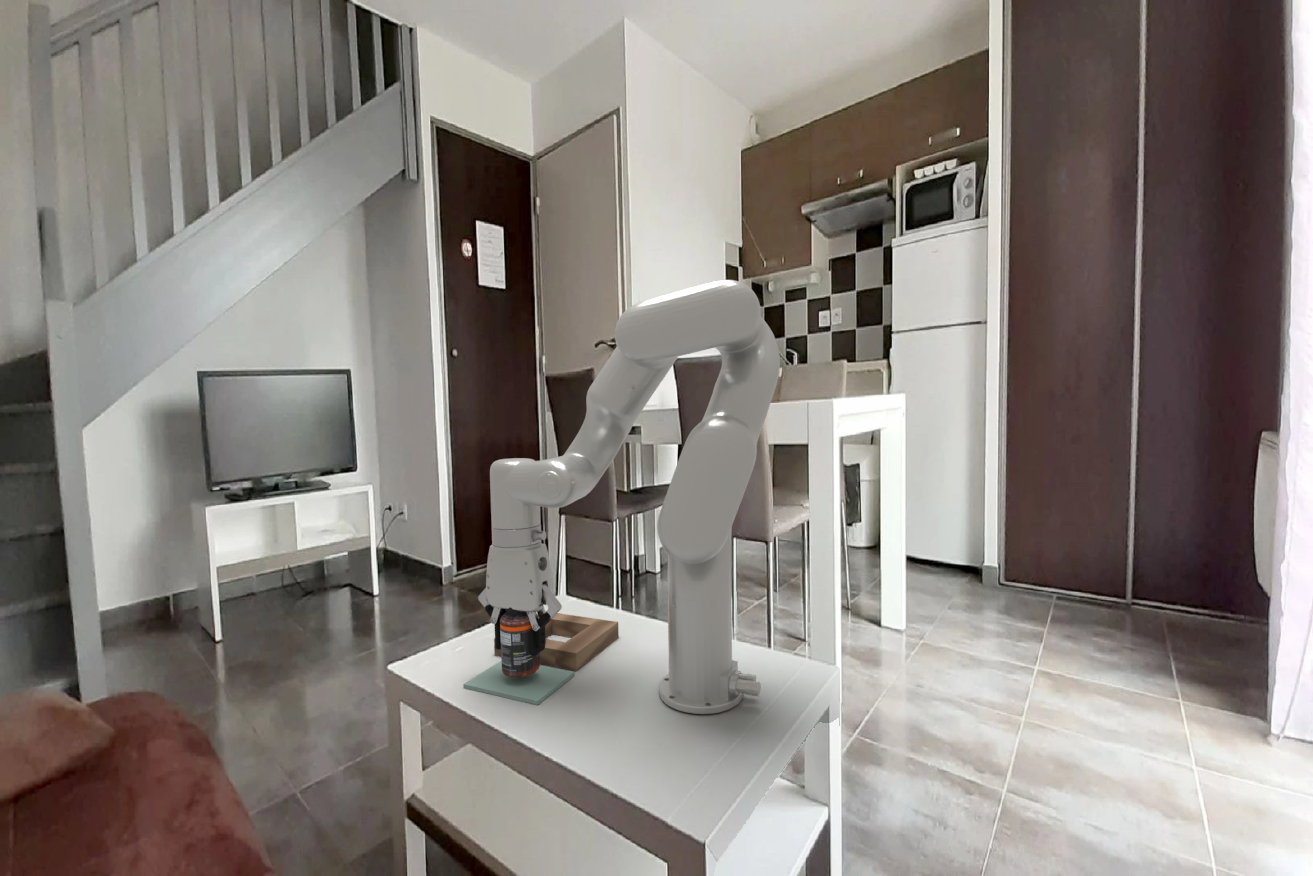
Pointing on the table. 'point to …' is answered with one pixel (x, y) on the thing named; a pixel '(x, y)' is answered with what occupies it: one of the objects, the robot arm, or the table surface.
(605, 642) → the walnut frame
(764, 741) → the table surface
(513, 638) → the supplement bottle
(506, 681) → the sage green mat
